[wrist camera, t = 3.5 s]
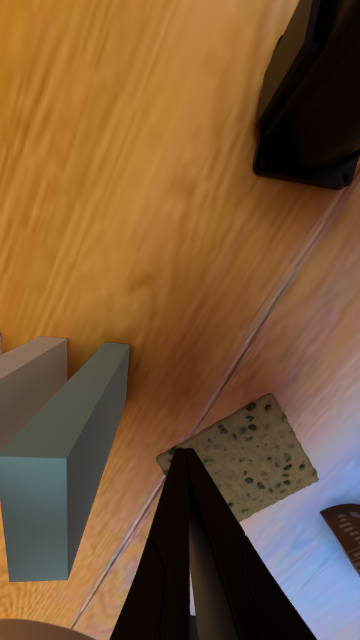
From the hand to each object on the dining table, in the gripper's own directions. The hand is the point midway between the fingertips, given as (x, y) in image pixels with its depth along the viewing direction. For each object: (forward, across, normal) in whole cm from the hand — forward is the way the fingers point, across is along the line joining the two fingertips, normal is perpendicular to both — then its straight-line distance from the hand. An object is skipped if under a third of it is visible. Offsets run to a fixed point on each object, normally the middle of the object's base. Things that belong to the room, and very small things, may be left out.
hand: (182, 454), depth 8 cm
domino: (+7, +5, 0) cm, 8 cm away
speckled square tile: (+7, -7, +9) cm, 14 cm away
